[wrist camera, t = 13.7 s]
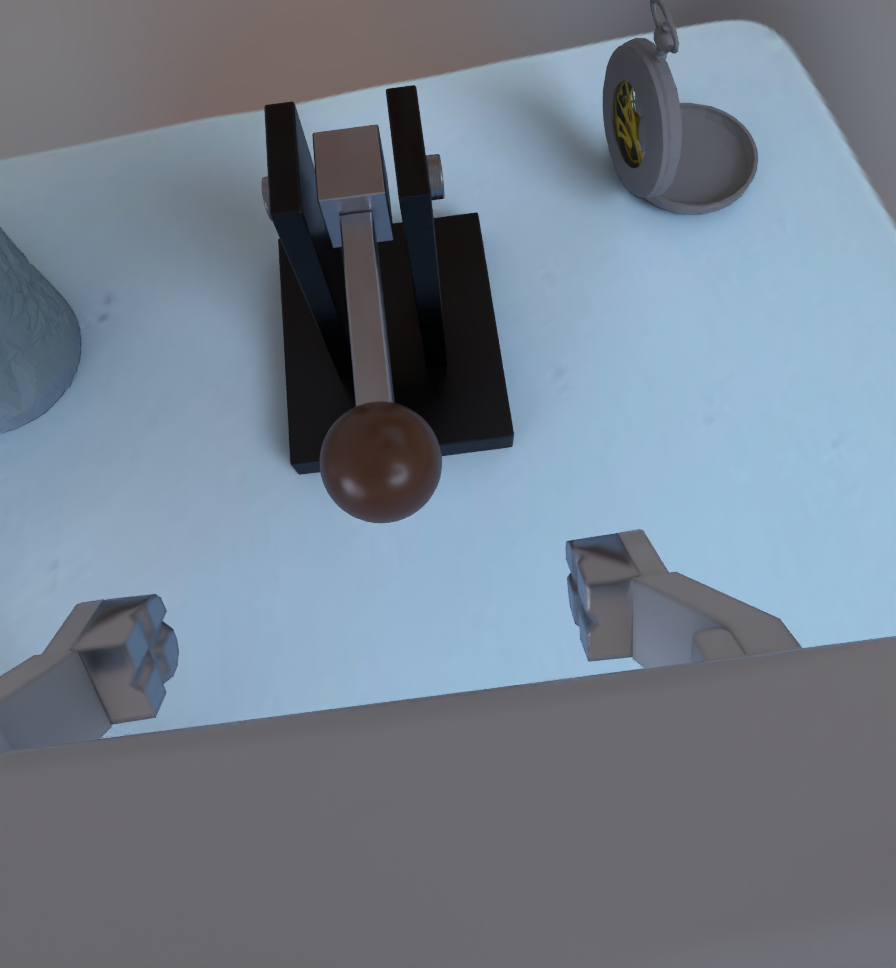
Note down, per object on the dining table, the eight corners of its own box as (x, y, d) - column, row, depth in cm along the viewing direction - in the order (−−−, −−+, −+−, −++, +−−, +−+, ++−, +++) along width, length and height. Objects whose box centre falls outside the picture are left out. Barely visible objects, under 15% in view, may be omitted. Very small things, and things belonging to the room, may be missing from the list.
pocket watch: (775, 157, 37) (877, -36, 27) (685, 268, 35) (761, 103, 26) (643, 85, 39) (696, -119, 29) (552, 186, 37) (576, 4, 27)
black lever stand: (512, 447, 33) (531, 290, 20) (298, 475, 33) (189, 335, 20) (478, 231, 36) (476, -11, 24) (285, 256, 36) (187, 27, 24)
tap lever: (451, 528, 22) (445, 494, 19) (337, 542, 22) (310, 512, 19) (408, 185, 26) (397, 105, 23) (311, 197, 26) (286, 120, 23)
